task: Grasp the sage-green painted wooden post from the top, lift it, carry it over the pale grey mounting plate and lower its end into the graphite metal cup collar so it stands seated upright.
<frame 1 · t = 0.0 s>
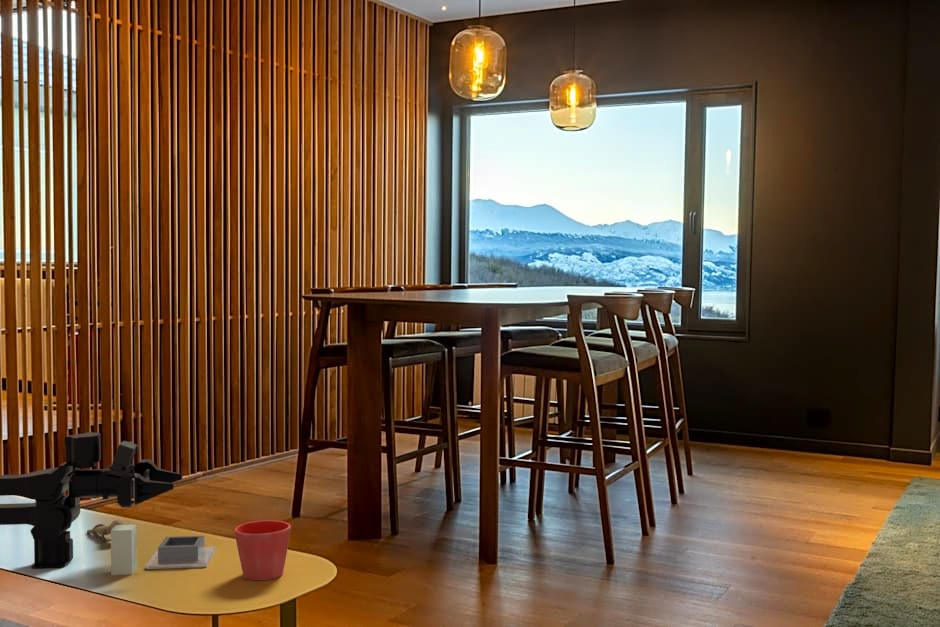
hand: (177, 481, 195), 17 cm above the table, tool horizontal, fingers open, 9 cm apart
figurine: (106, 539, 211), on the table
flower pot: (263, 575, 186), on the table
rail post: (124, 571, 187), on the table
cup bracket: (181, 559, 195), on the table
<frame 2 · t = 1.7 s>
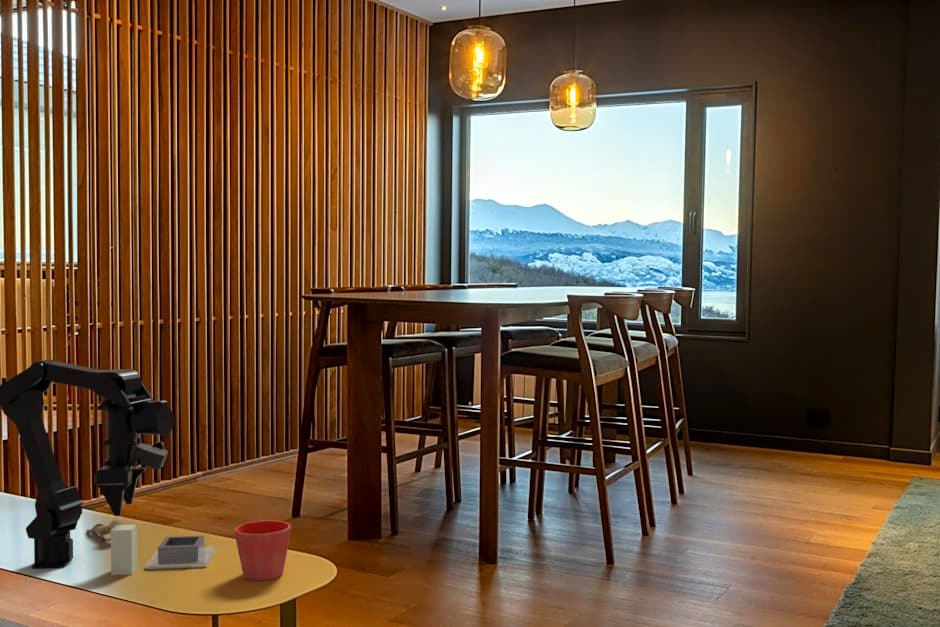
hand: (123, 509, 187), 13 cm above the table, tool pointing down, fingers open, 9 cm apart
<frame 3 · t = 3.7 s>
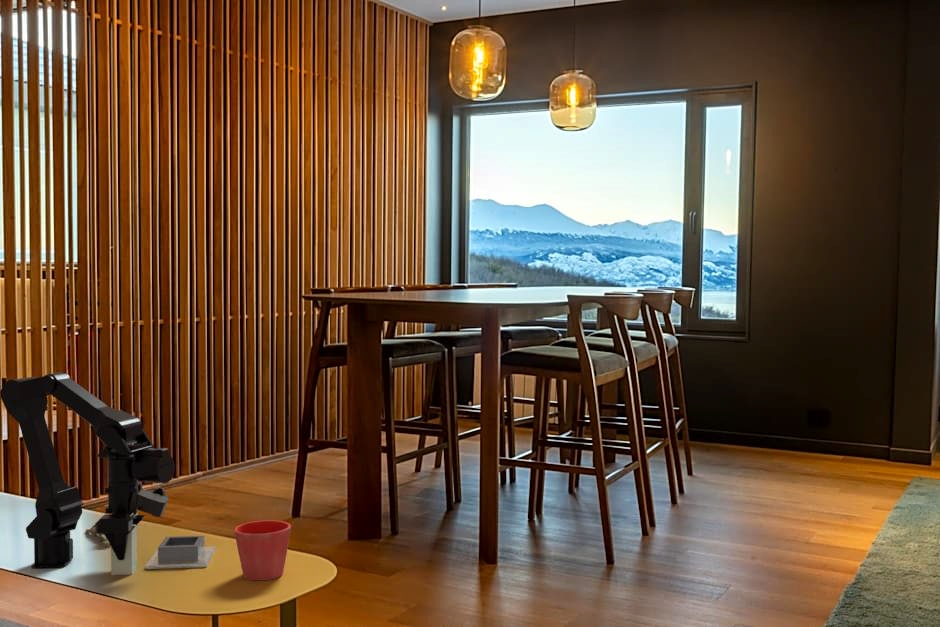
hand: (124, 556, 187), 3 cm above the table, tool pointing down, fingers closed on rail post, 4 cm apart
rail post: (124, 571, 187), on the table, touching gripper
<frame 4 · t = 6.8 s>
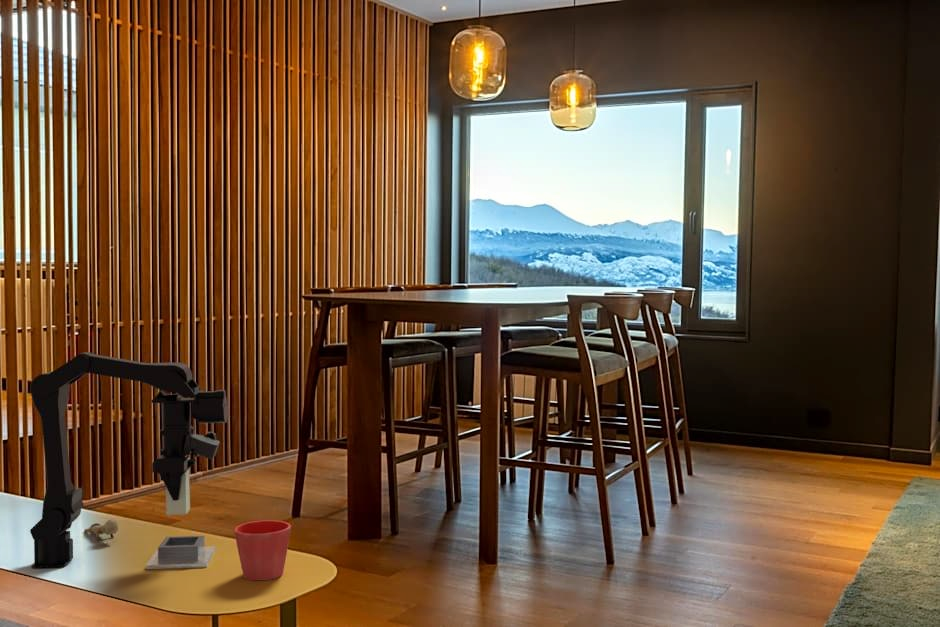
hand: (177, 497, 194), 13 cm above the table, tool pointing down, fingers closed on rail post, 4 cm apart
rail post: (178, 512, 194), point 10 cm above the table, touching gripper
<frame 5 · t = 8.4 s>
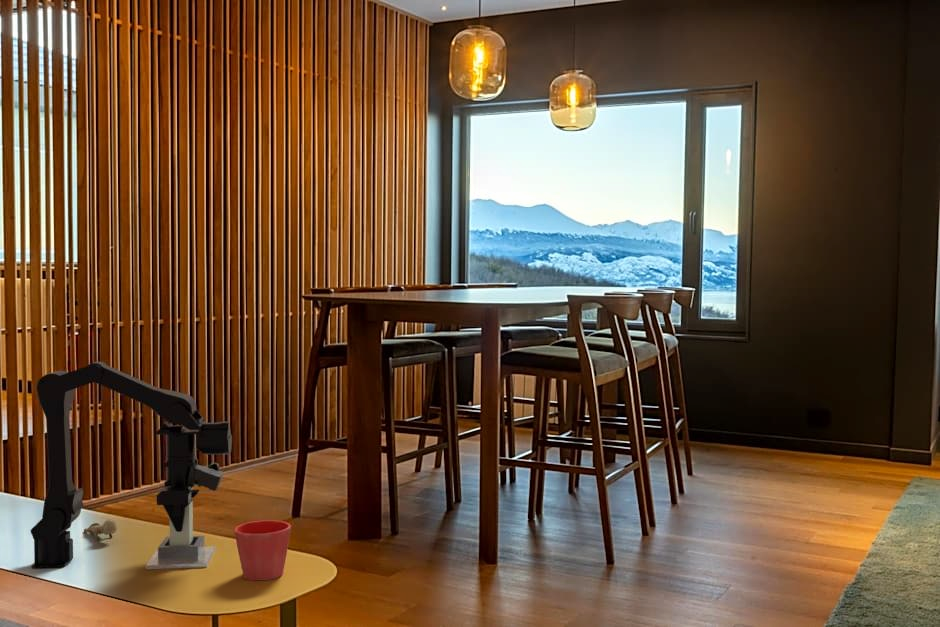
hand: (181, 528, 195), 7 cm above the table, tool pointing down, fingers closed on rail post, 4 cm apart
rail post: (181, 542, 195), point 3 cm above the table, touching gripper
when the fingers open (5 cm above the table, at t = 9.9 s): rail post stays where it is, resting on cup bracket.
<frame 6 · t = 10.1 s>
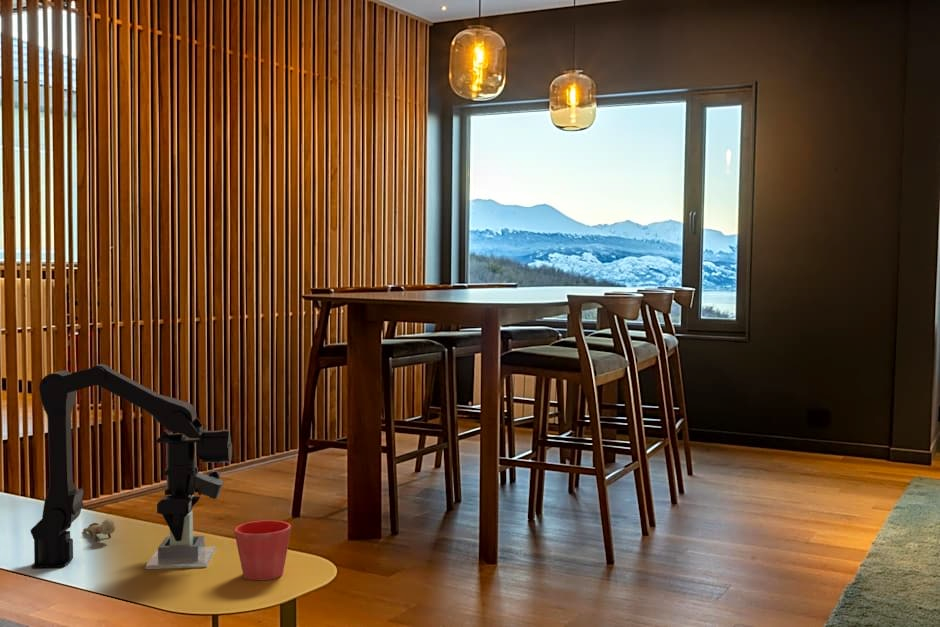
hand: (181, 536, 195), 5 cm above the table, tool pointing down, fingers open, 6 cm apart
rail post: (181, 555, 195), point 1 cm above the table, touching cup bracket
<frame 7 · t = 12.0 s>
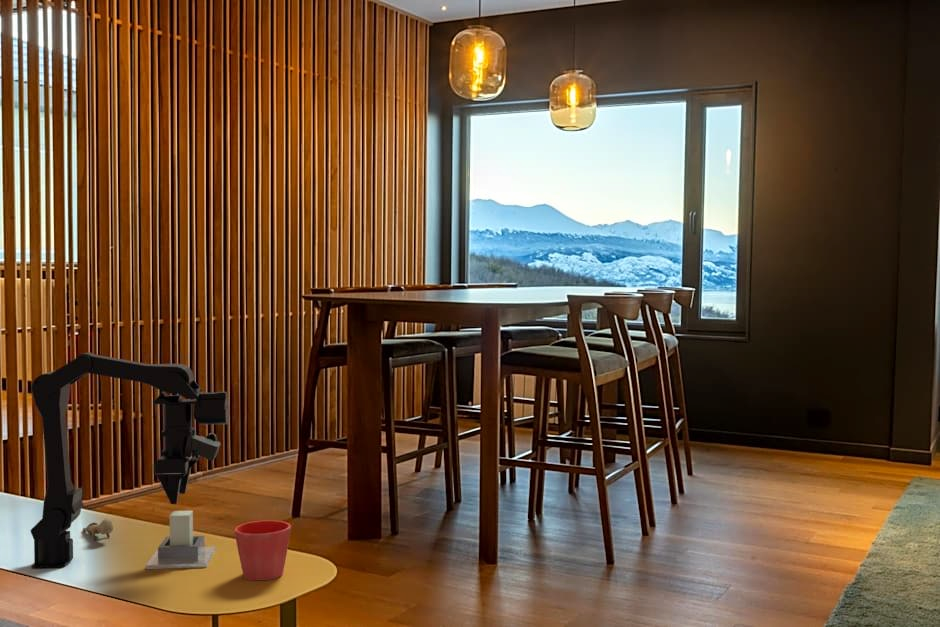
hand: (178, 498, 195), 13 cm above the table, tool pointing down, fingers open, 9 cm apart
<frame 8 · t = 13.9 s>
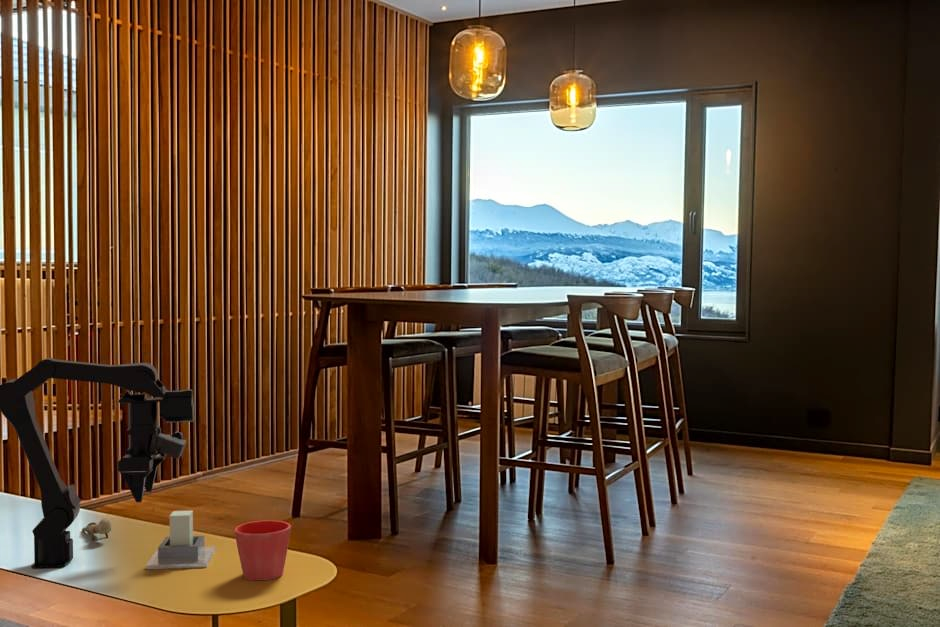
hand: (144, 496, 196), 13 cm above the table, tool pointing down, fingers open, 9 cm apart
at the end: rail post 0.0 cm off-centre on the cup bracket, point 0.8 cm above the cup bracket's base; rail post tilted 0°; the gripper is holding nothing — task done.
